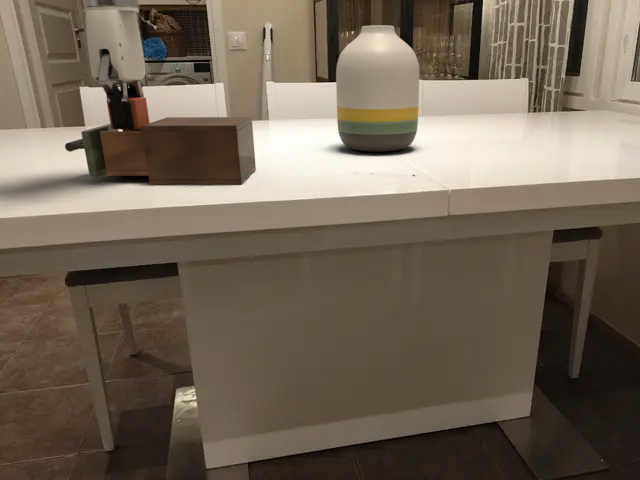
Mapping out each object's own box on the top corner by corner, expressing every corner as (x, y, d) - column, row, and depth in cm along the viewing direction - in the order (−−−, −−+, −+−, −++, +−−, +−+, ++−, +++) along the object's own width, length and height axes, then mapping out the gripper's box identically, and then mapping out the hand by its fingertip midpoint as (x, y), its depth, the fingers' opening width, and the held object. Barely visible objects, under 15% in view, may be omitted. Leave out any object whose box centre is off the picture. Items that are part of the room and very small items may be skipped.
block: (111, 129, 88) (106, 99, 87) (123, 125, 92) (118, 97, 91) (139, 129, 88) (134, 99, 87) (150, 125, 92) (145, 97, 91)
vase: (326, 154, 113) (322, 25, 105) (352, 142, 129) (350, 28, 120) (407, 157, 109) (410, 23, 100) (424, 144, 124) (428, 27, 115)
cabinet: (149, 184, 88) (140, 125, 84) (173, 170, 99) (166, 117, 95) (241, 184, 88) (236, 125, 84) (255, 170, 98) (251, 117, 95)
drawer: (63, 178, 88) (53, 131, 86) (94, 166, 98) (86, 123, 95) (174, 178, 88) (168, 131, 85) (194, 165, 98) (189, 123, 95)
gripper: (110, 6, 91) (128, 120, 98) (56, -4, 76) (82, 133, 83) (155, 5, 91) (171, 120, 98) (111, -4, 76) (132, 133, 82)
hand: (130, 125), depth 90 cm, fingers closed on block, 4 cm apart
